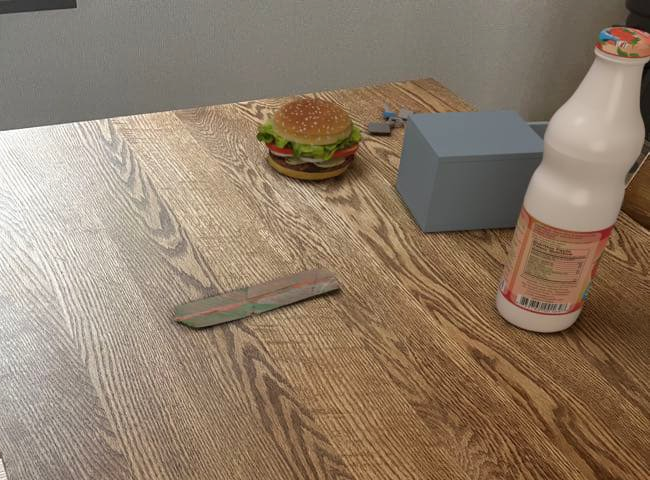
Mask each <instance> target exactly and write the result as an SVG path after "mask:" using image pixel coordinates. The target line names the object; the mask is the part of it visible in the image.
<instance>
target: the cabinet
mask: <svg viewBox="0 0 650 480" xmlns="http://www.w3.org/2000/svg"><path fill="white" fill-rule="evenodd" d="M406 121H407V122H405V129H404V135H403V141H402V147H401V153H400V158H399V164H398V169H397V170H398V171H397V176H396V182H395V188H396V190H397V192H398V193H399V195H400V197H401V198H402V200H403V202H404V203H405V205H406V206H407V208H408V209H409V211H410V213H411V214H412V216H413V218H414V220H415V222H416V223H417V224H418V226H419V228H420V229H421V231H422V232H423V233H439V232H455V231H471V230H474V231H475V230H490V229H505V228H506V229H507V228H516V226H517V222H518V219H519V215H520V212H521V209H522V205H523V201H524V197H525V194H526V191H527V188H528V186H529V183H530V180H531V178H532V176H533V174H534V172H535V170H536V169H537V168H538V167H539V165H540V164H541V162H542V159H543V142H544V141H543V140H542V139H541V138H540V137H539V135H538V134H537V133H536V132H535V131H534V130H533V129H532V128H531V127H530V126H529V125H528V124H527V123H526V122H527V121H526V120H524V118H523V117H522V116H521V115H520V114H519V113H518V112H517V111H516V110H515V109H501V110H500V109H499V110H478V111H476V110H475V111H447V112H446V111H445V112H423V113H419V112H418V113H413V114H408V117H407V119H406Z"/></svg>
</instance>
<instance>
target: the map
mask: <svg viewBox="0 0 650 480" xmlns="http://www.w3.org/2000/svg"><path fill="white" fill-rule="evenodd" d="M339 285H340V283H339V281H338V280H337V275H335V273H334V272H331V270H330V269H329V268H322V269H321V268H320V267H316V268H311V269H308V270H304V271H299V272H295V273H291V274H287V275H284V276H281V277H276V278H273V279H271V280H266V281H264V282H260V283H257V284H254V285H249V286H246V287H242V288H239V289H236V290H232V291H229V292H228V291H227V292H225V293H222V294H218V295H215V296H211V297H207V298H203V299H199V300H195V301H192V302H187V303H183V304H177V305H175V309H176V310H175V311H174V313H175V315H174V317H173V320H174V321H176V322H181V323H183V324H185V325H187V326H188V327H192V328H203V327H208V326H213V325H218V324H222V323H226V322H231V321H236V320H239V319H244V318H246V317H250V316H251V315H252V313H254V314H257V315H259V314H261V313H264V312H267V311H271V310H274V309H277V308H280V307H282V306H283V307H284V306H286V305H290V304H293V303H296V302H299V301H301V300H304V299H307V298H311V297H314V296H317V295H320V294H324V293H327V292H331V291H333V290H336V289H340V287H339Z"/></svg>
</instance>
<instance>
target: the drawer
mask: <svg viewBox="0 0 650 480" xmlns="http://www.w3.org/2000/svg"><path fill="white" fill-rule="evenodd" d="M525 122H526V123H527V124H528V125H529V126H530V127H531V128H532V129H533V130H534V131H535V132H536V133H537V134H538V135H539V137H540V138H541V139H542V140H543V141H544V135H545V132H546V129H547V126H548V124H549V122H550V120H549V121H548V120H545V121H525ZM639 164H640V163H639V162H638V161H637V160H636V162H635V163H634V165H633V166H632V167H631V169H630V170H629V172H628V173H627V174H634V173H635V172H637V170H638V169H639V166H640V165H639Z"/></svg>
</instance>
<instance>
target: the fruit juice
mask: <svg viewBox="0 0 650 480" xmlns="http://www.w3.org/2000/svg"><path fill="white" fill-rule="evenodd" d="M594 55H595V58H594V61H593V62H592V64H591V66H590V68H589V70H588V71H587V73H586V74H585V76H584V78H583V79H582V81H581V82H580V84H579V86H577V89H576V90H575V92H574V93H572V95H571V97H570V98H568V100H567V101H565V102H564V104H563V105H562V106H560V107H559V108H558V109H557V110H556V111H555V113H553V115H552V116H551V118H550V120H549V121H550V122H549V124H548V126H547V129H546V132H545V135H544V142H543V159H542V162H541V164H540V165H539V167H538V168H537V169H536V170H535V172H534V174H533V176H532V178H531V180H530V183H529V186H528V188H527V191H526V194H525V197H524V201H523V205H522V209H521V212H520V215H519V219H518V222H517V226H516V227H515V229H514V233H513V236H512V239H511V243H510V246H509V250H508V252H507V257H506V261H505V263H504V266H503V269H502V274H501V277H500V280H499V284H498V287H497V291H496V295H495V308H496V310H497V312H498V313H499V315H500V316H501V317H502V318H503V319H504V320H506V321H507V322H508V323H511V324H512V325H514V326H516V327H518V328H520V329H522V330H523V329H524V330H527V331H531V332H537V333H556V332H560V331H563V330H566V329H568V328H570V327H571V326H572V325H574V323H575V322H576V321H577V320H578V318H579V316H580V314H581V312H582V310H583V306H584V304H585V301H586V299H587V296H588V294H589V292H590V288H591V286H592V283H593V281H594V278H595V276H596V273H597V271H598V267H599V265H600V263H601V261H602V258H603V255H604V252H605V250H606V247H607V244H608V242H609V239H610V237H611V234H612V232H613V229H614V227H615V224H616V221H617V220H618V217H619V215H620V211H621V209H622V205H623V202H624V197H625V194H626V178H627V175H628V174H629V173H628V172H629V170H630V169H631V167H632V166H633V165H634V163H635V162H636V161H637V160H638V159H639V156H640V155H641V153H642V149H643V147H644V143H645V138H646V128H645V125H644V123H643V119H642V116H641V113H640V87H641V78H642V72H643V67H644V65H645V63H647V62H648V61H649V60H650V34H649V33H646V32H644V31H641V30H637V29H632V28H624V27H614V28H611V27H607V28H605V29H602V31H600V33H599V35H598V37H597V40H596V42H595V48H594Z"/></svg>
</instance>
